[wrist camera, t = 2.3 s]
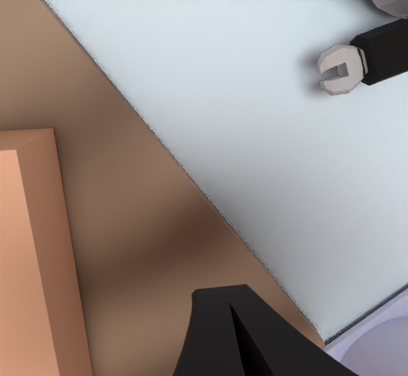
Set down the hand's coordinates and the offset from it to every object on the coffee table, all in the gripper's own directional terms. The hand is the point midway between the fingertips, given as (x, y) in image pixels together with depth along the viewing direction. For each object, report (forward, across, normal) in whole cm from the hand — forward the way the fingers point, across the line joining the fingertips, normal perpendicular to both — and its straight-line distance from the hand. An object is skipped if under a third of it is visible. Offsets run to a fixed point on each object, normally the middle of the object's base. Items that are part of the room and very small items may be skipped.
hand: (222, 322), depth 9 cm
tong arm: (+7, +6, +4) cm, 10 cm away
